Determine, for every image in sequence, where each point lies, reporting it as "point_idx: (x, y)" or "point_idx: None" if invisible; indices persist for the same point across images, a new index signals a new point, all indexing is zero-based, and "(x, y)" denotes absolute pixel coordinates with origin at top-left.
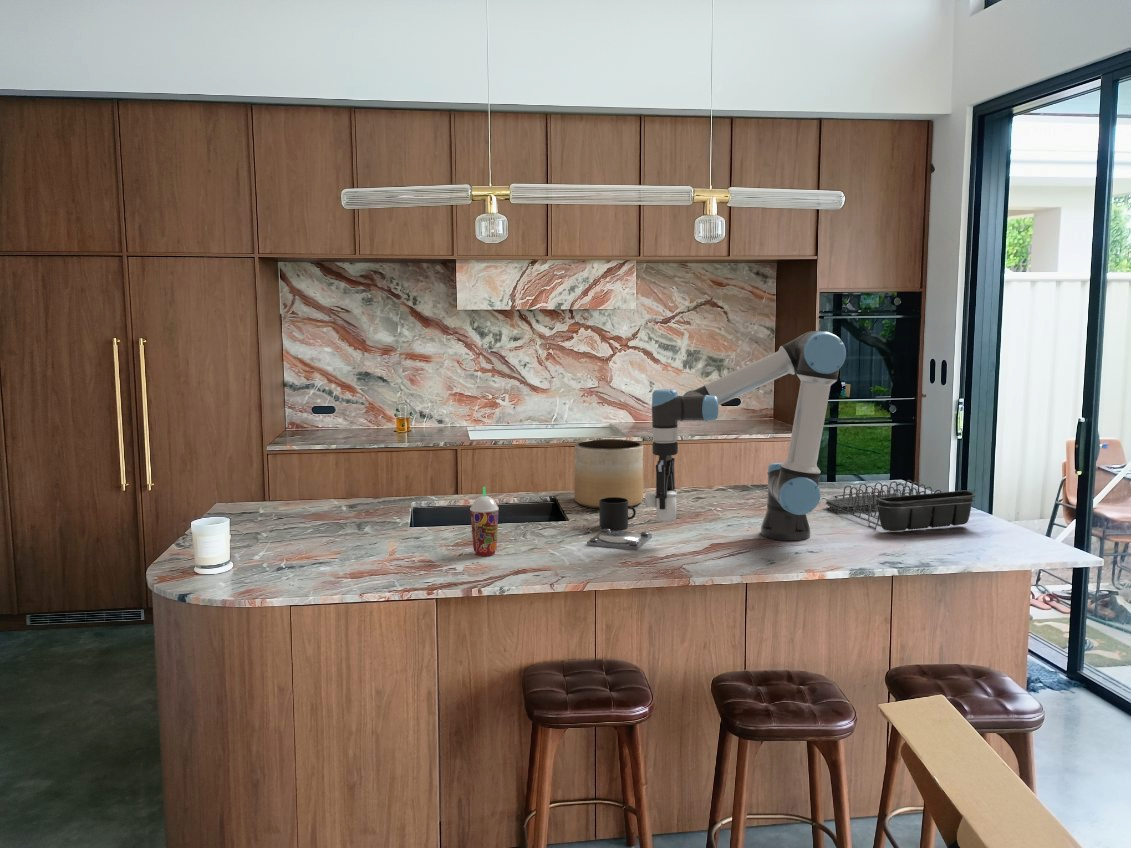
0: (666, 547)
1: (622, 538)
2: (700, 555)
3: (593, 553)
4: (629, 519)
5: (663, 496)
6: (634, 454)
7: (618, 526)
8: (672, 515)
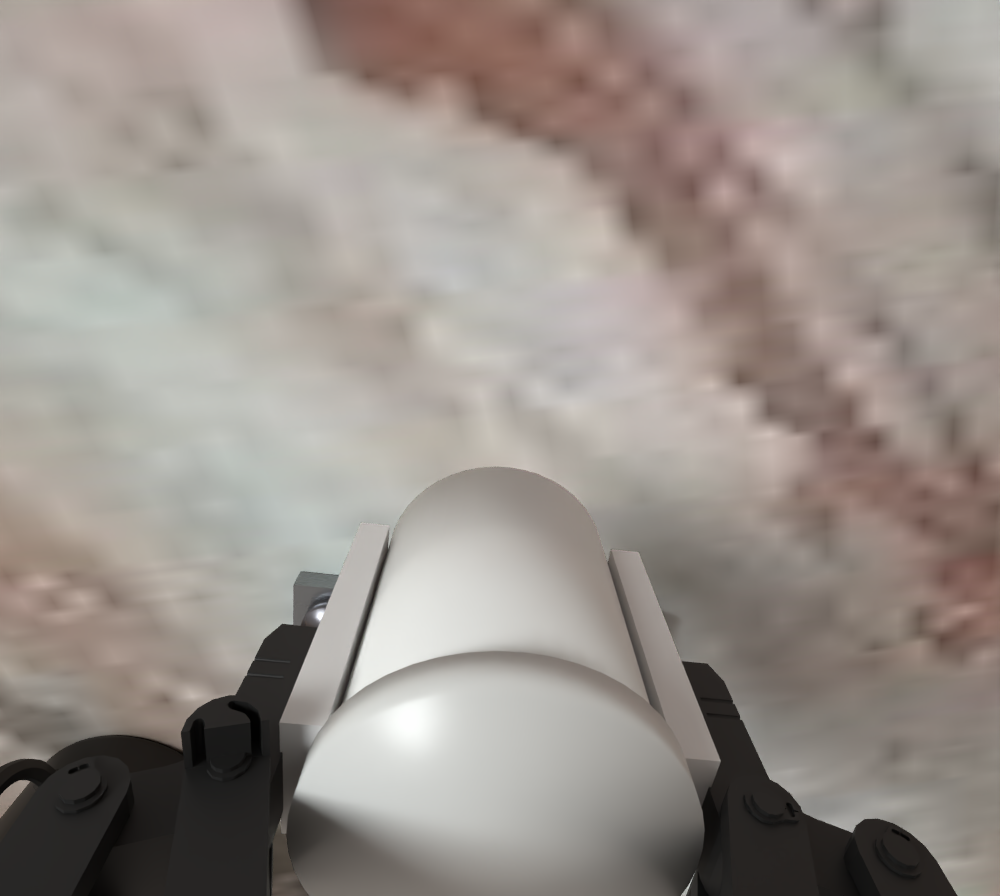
0: (554, 444)
1: None
2: (757, 151)
3: None
4: (54, 770)
5: (922, 860)
6: None
7: None
8: (585, 527)
